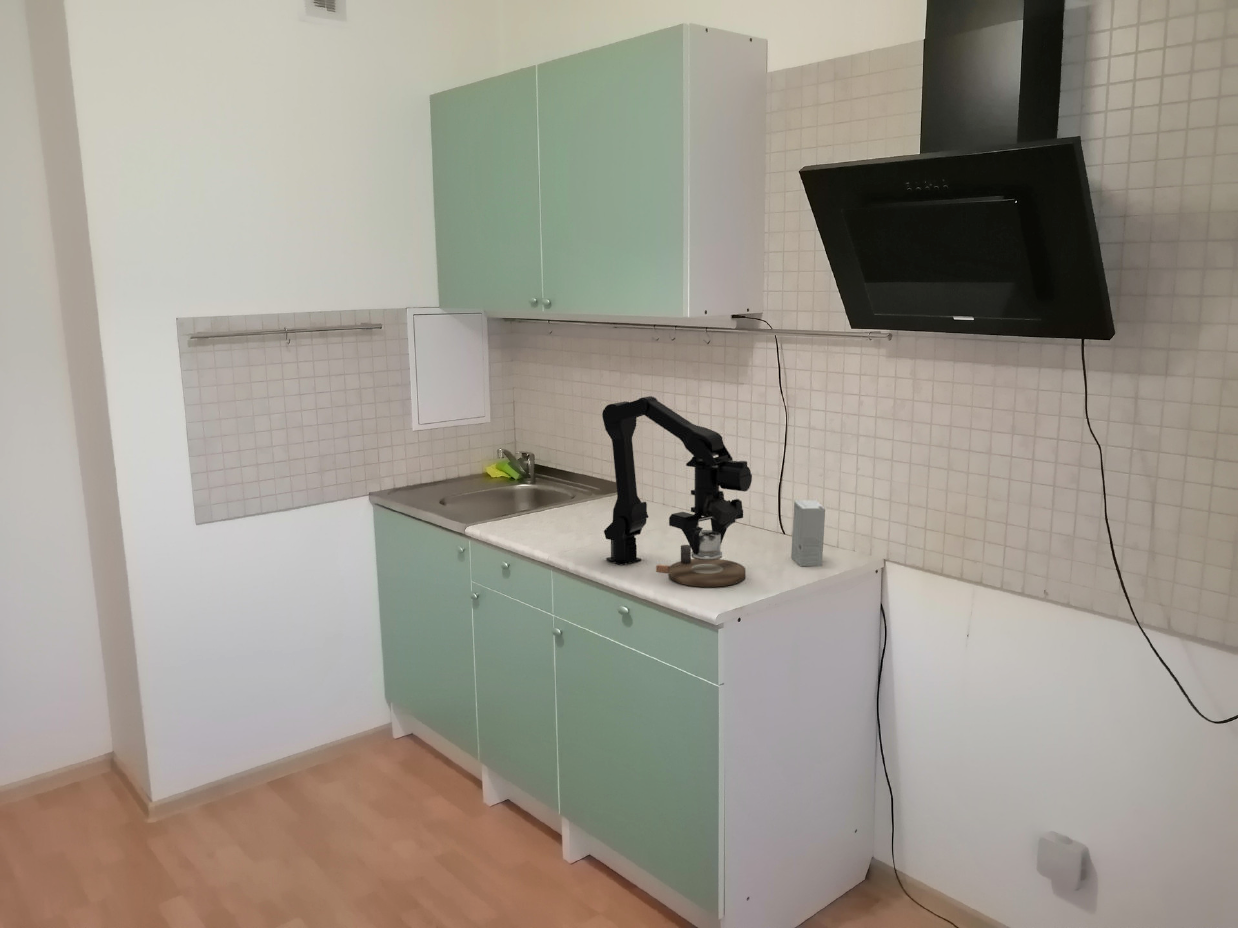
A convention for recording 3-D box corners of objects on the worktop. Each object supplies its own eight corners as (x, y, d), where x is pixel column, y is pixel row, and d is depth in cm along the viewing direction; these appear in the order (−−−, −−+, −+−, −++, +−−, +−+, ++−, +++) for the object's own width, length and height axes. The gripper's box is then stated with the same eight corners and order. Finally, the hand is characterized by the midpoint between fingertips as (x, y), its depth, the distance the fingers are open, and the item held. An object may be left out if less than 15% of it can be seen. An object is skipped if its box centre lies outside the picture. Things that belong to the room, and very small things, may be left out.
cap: (685, 555, 229) (685, 532, 228) (707, 550, 234) (707, 527, 233) (705, 562, 224) (705, 538, 223) (728, 556, 228) (728, 533, 227)
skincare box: (790, 557, 244) (791, 499, 241) (814, 556, 245) (815, 498, 242) (800, 567, 236) (801, 507, 233) (824, 566, 236) (825, 506, 234)
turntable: (653, 573, 231) (652, 551, 230) (709, 560, 242) (709, 538, 241) (704, 591, 217) (704, 567, 216) (761, 576, 228) (761, 553, 227)
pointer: (656, 571, 234) (656, 565, 234) (657, 570, 235) (657, 564, 235) (668, 572, 233) (668, 566, 233) (669, 571, 234) (669, 565, 233)
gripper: (700, 498, 214) (700, 566, 217) (760, 486, 225) (759, 551, 228) (667, 489, 223) (667, 555, 226) (727, 479, 234) (726, 542, 237)
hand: (706, 551), depth 229 cm, fingers closed on cap, 6 cm apart
